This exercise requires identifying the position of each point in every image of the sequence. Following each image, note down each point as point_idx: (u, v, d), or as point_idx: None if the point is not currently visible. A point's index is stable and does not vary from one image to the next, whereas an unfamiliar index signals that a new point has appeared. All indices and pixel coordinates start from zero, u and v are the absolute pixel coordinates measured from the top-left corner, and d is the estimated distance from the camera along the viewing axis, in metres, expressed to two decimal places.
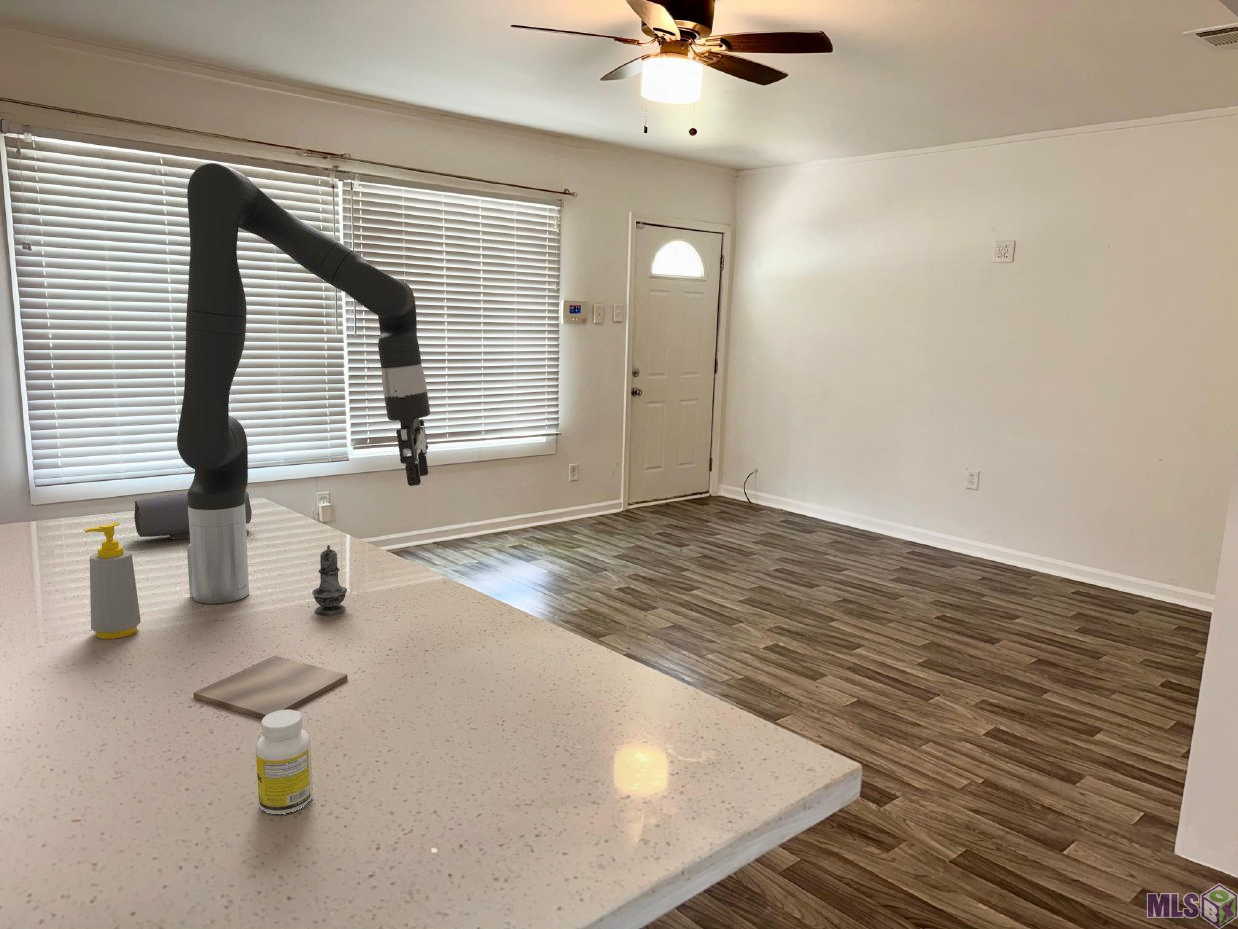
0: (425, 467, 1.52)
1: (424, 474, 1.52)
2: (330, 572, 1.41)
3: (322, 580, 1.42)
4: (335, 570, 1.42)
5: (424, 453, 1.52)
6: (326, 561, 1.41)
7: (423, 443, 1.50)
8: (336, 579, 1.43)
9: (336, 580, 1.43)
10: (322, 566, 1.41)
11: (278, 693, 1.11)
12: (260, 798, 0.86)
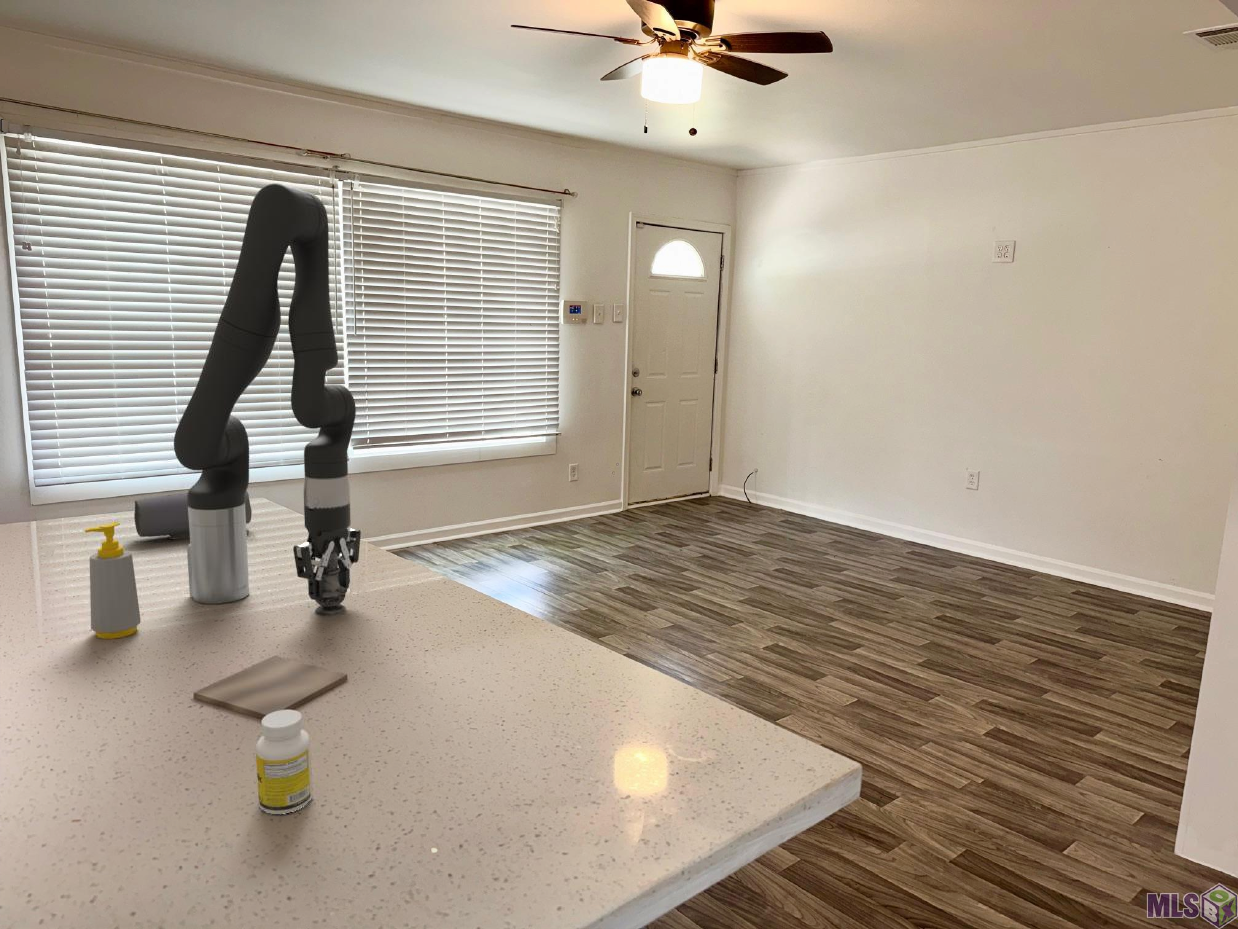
0: (344, 581, 1.46)
1: None
2: (330, 572, 1.41)
3: (322, 580, 1.42)
4: (335, 570, 1.42)
5: (346, 567, 1.45)
6: None
7: (342, 555, 1.44)
8: (336, 579, 1.43)
9: (336, 580, 1.43)
10: None
11: (278, 693, 1.11)
12: (260, 798, 0.86)
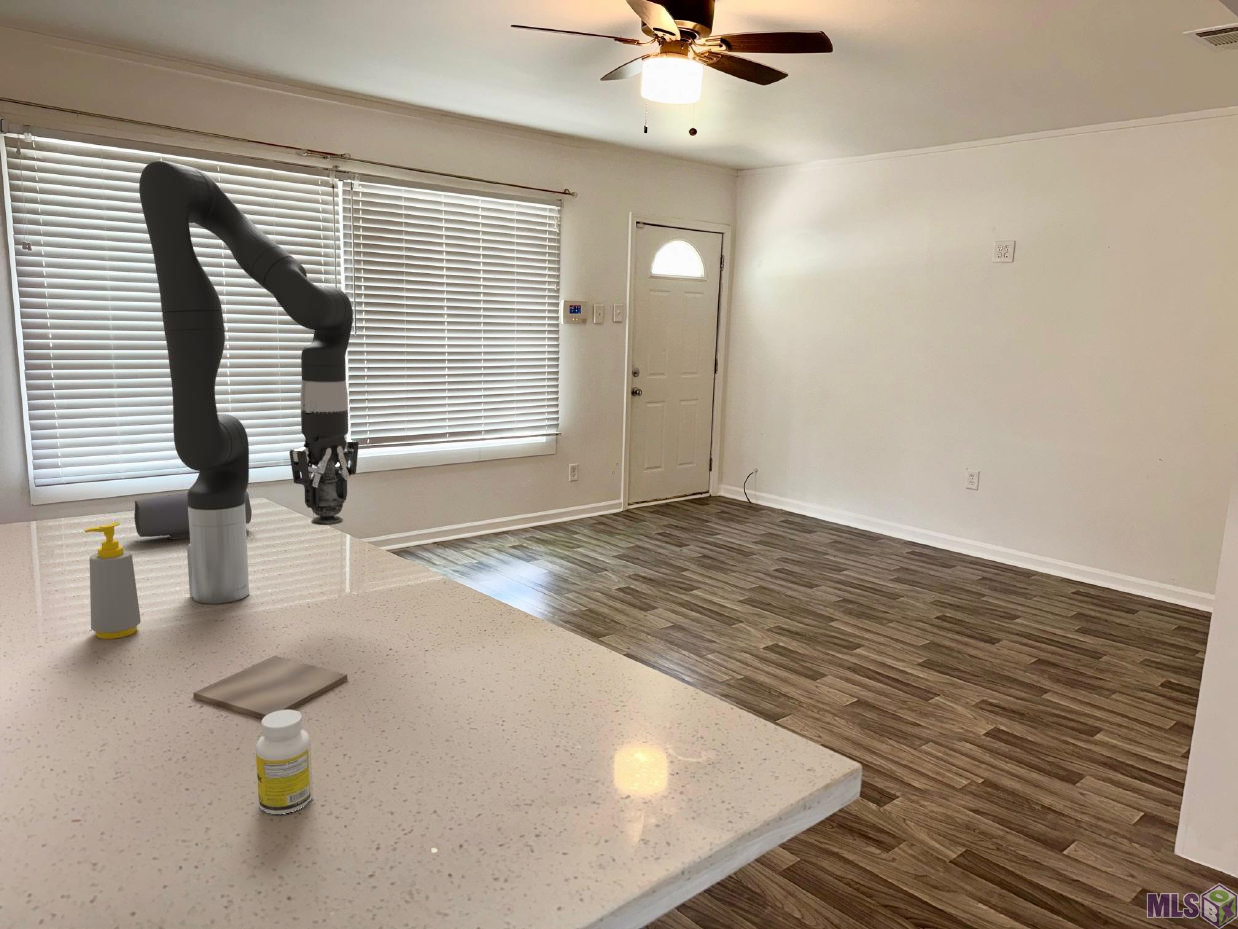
0: (342, 493, 1.43)
1: None
2: (327, 480, 1.38)
3: (319, 489, 1.39)
4: (333, 479, 1.39)
5: (343, 478, 1.42)
6: None
7: (340, 465, 1.41)
8: (333, 488, 1.40)
9: (333, 489, 1.40)
10: None
11: (278, 693, 1.11)
12: (260, 798, 0.86)
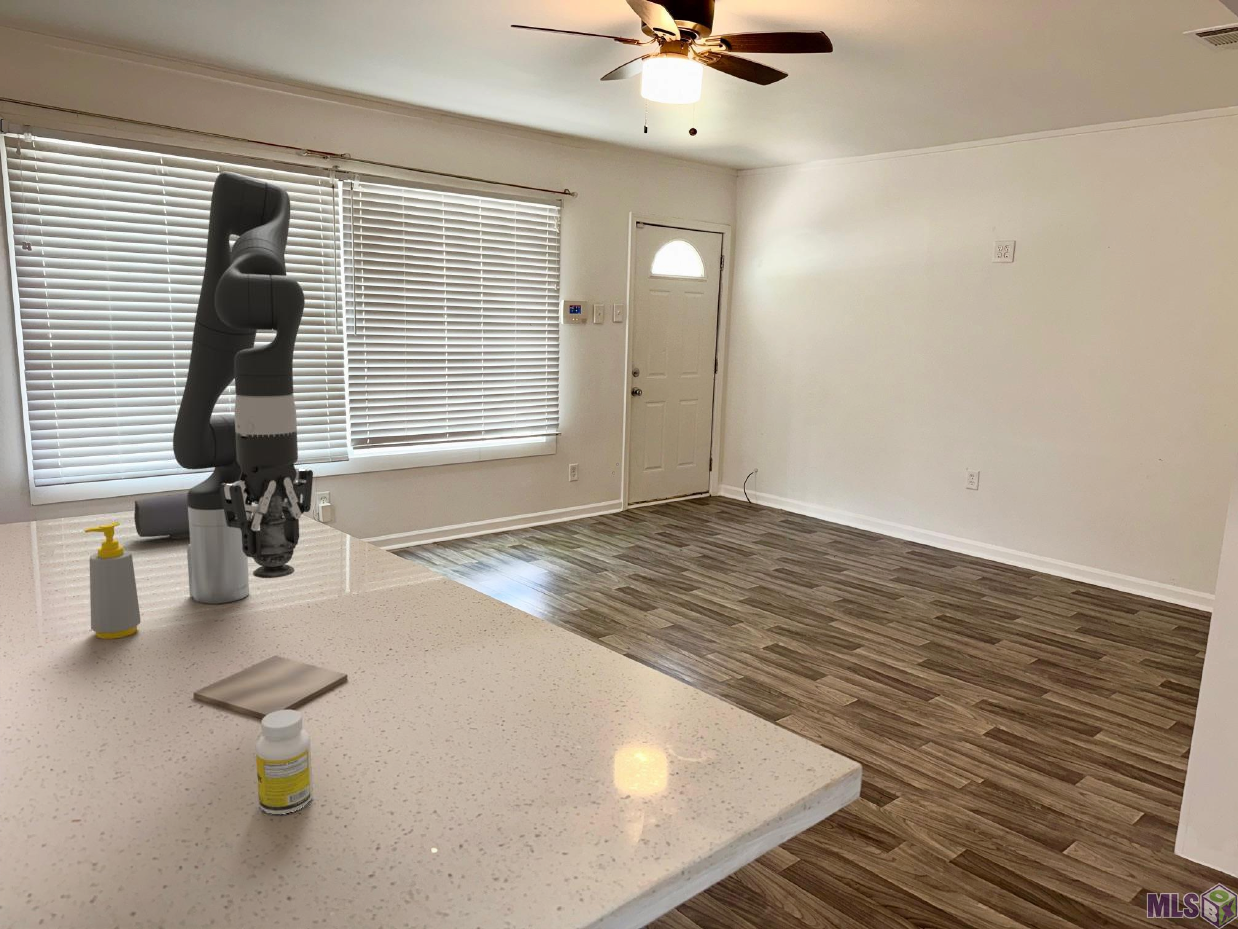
0: (292, 535, 1.13)
1: None
2: (271, 521, 1.09)
3: (262, 532, 1.09)
4: (279, 519, 1.10)
5: (293, 517, 1.13)
6: None
7: (288, 501, 1.11)
8: (280, 531, 1.10)
9: (280, 532, 1.10)
10: None
11: (278, 693, 1.11)
12: (260, 798, 0.86)
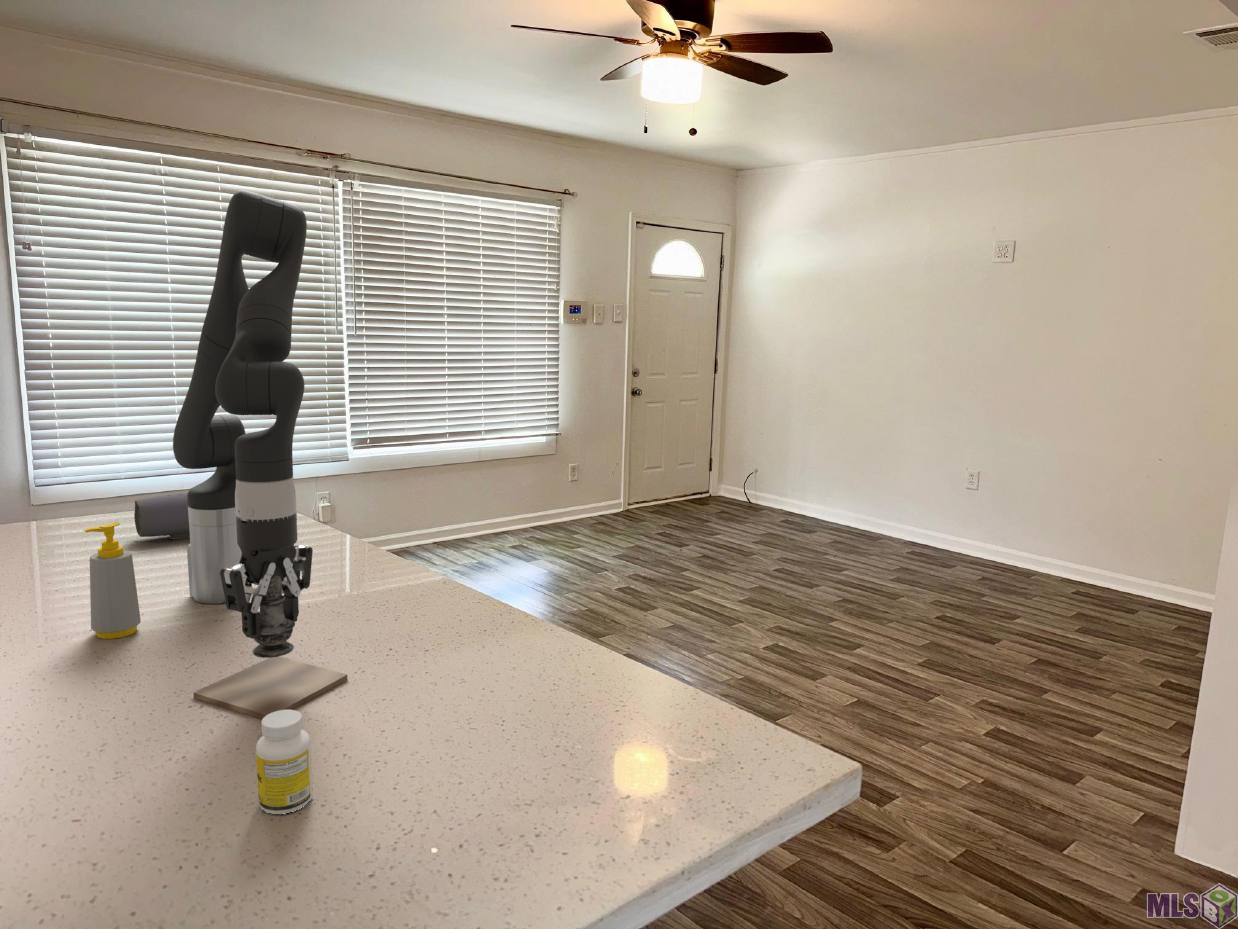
0: (291, 613, 1.14)
1: None
2: (271, 602, 1.10)
3: (262, 612, 1.11)
4: (279, 599, 1.11)
5: (293, 595, 1.14)
6: None
7: (288, 580, 1.12)
8: (280, 610, 1.11)
9: (280, 612, 1.11)
10: None
11: (278, 693, 1.11)
12: (260, 798, 0.86)
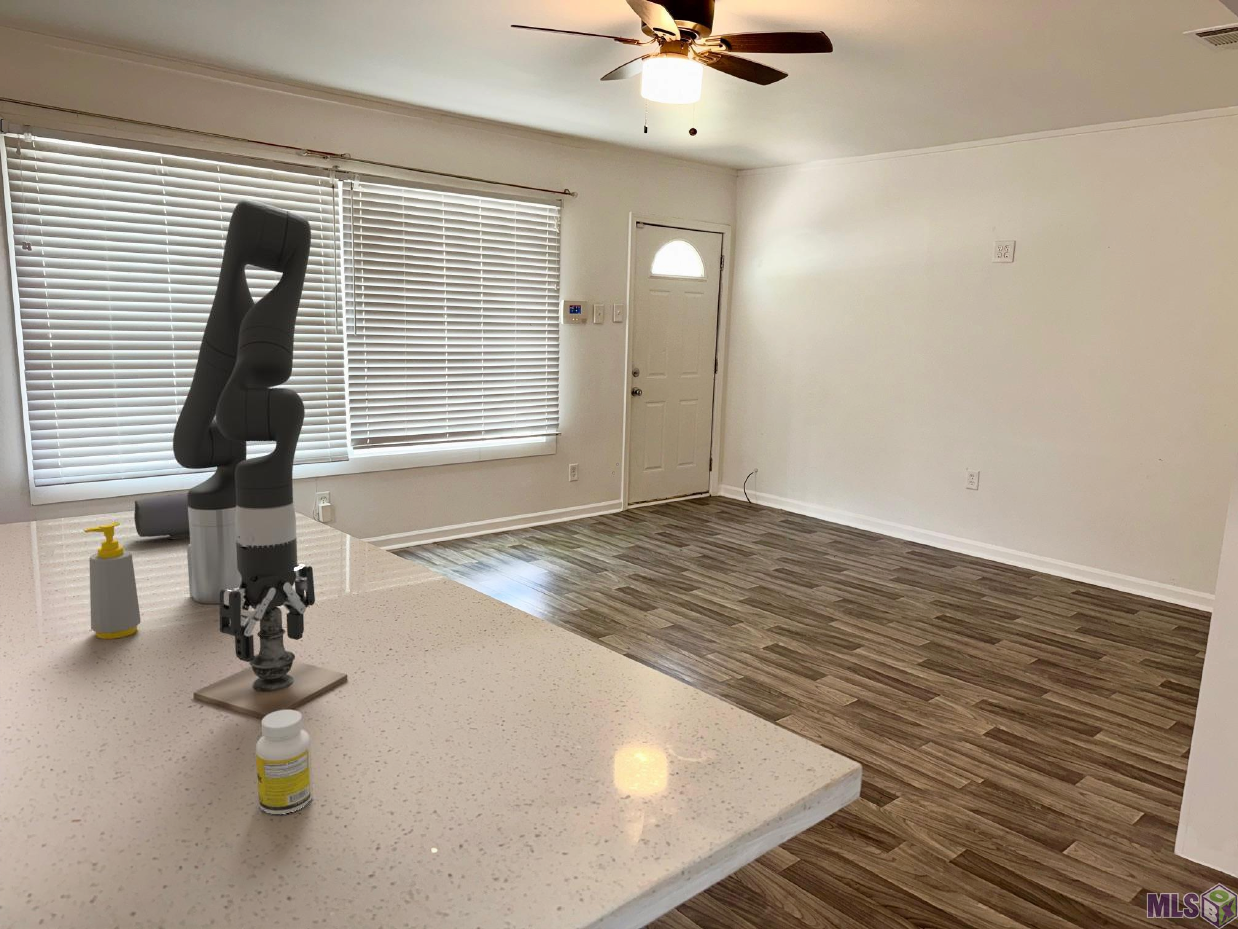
0: (297, 630, 1.16)
1: (295, 638, 1.16)
2: (271, 635, 1.11)
3: (262, 646, 1.11)
4: (279, 632, 1.12)
5: (298, 612, 1.15)
6: (267, 622, 1.11)
7: (291, 602, 1.13)
8: (280, 644, 1.12)
9: (280, 645, 1.12)
10: (262, 628, 1.11)
11: (278, 693, 1.11)
12: (260, 798, 0.86)
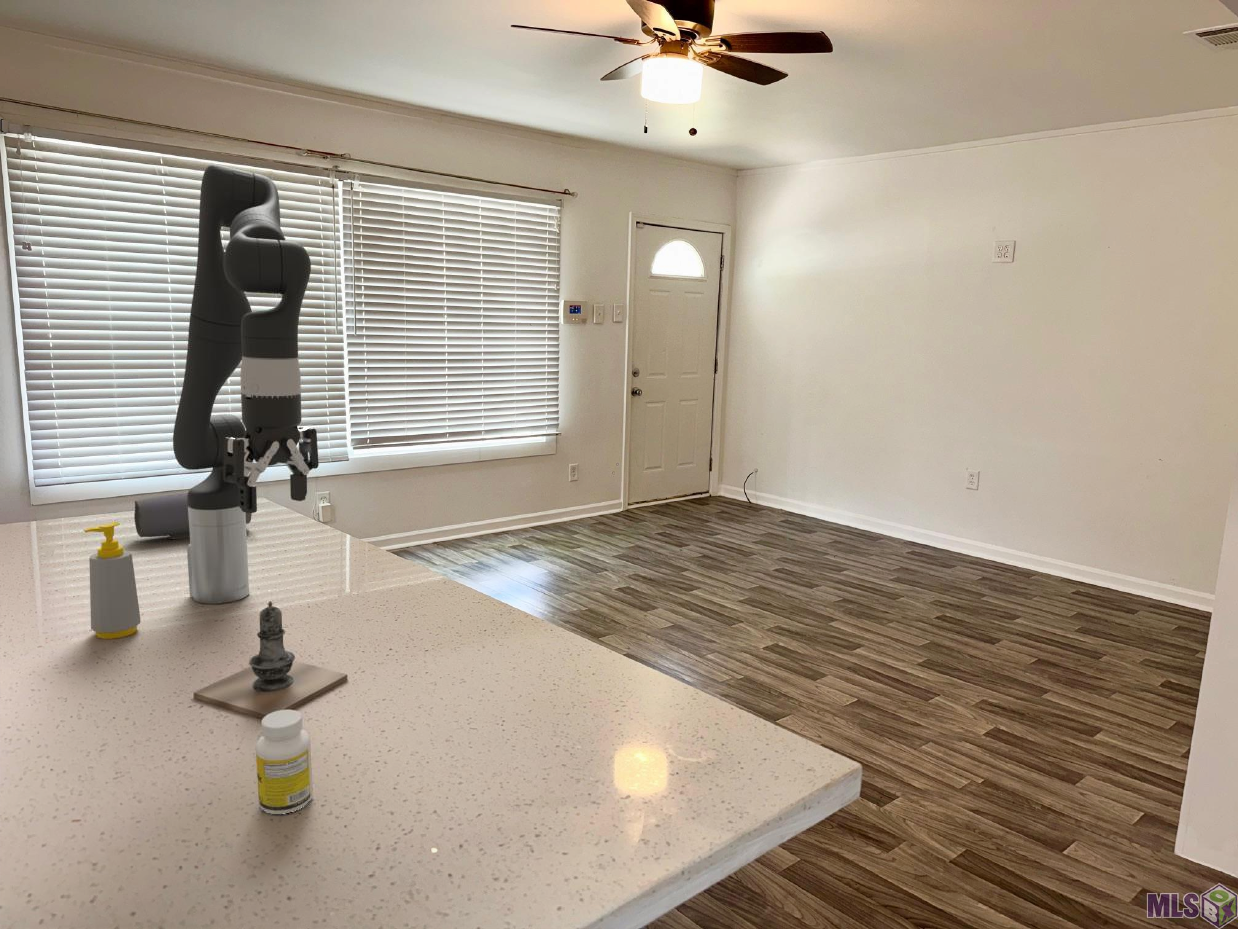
0: (300, 491, 1.17)
1: (298, 499, 1.17)
2: (271, 636, 1.11)
3: (262, 646, 1.11)
4: (279, 633, 1.12)
5: (301, 473, 1.16)
6: (266, 623, 1.11)
7: (294, 460, 1.14)
8: (280, 644, 1.12)
9: (280, 646, 1.12)
10: (262, 628, 1.11)
11: (278, 693, 1.11)
12: (260, 798, 0.86)
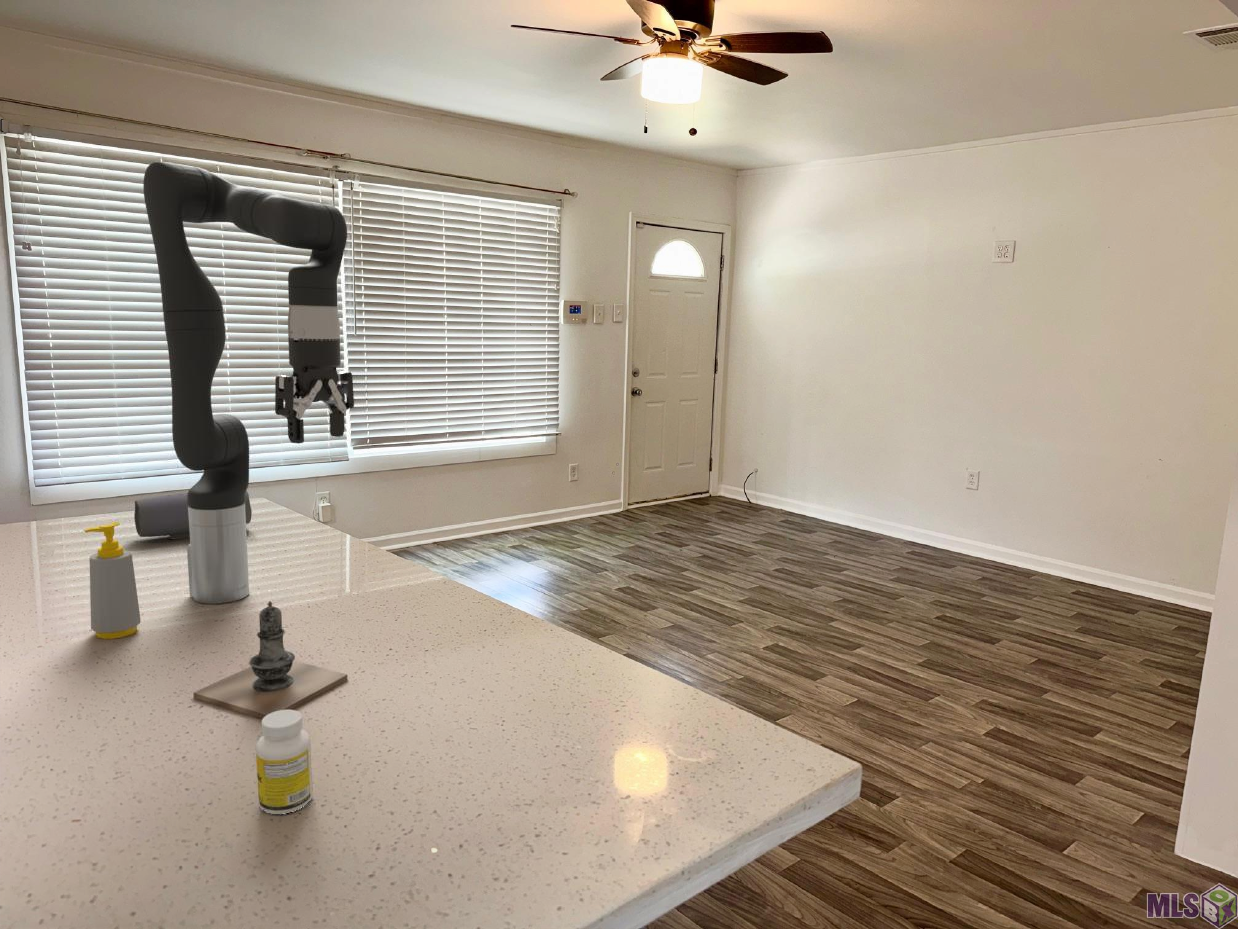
0: (338, 427, 1.32)
1: (337, 435, 1.32)
2: (271, 636, 1.11)
3: (262, 646, 1.11)
4: (278, 633, 1.12)
5: (340, 411, 1.31)
6: (266, 622, 1.11)
7: (334, 399, 1.29)
8: (280, 644, 1.12)
9: (280, 646, 1.12)
10: (261, 628, 1.11)
11: (278, 693, 1.11)
12: (260, 798, 0.86)
